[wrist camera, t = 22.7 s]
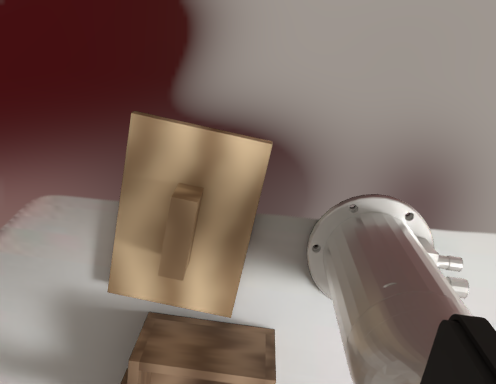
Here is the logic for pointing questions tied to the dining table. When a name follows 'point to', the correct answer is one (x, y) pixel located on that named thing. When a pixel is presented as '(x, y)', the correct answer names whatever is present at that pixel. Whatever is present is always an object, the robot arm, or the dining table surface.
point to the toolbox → (201, 353)
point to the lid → (186, 213)
